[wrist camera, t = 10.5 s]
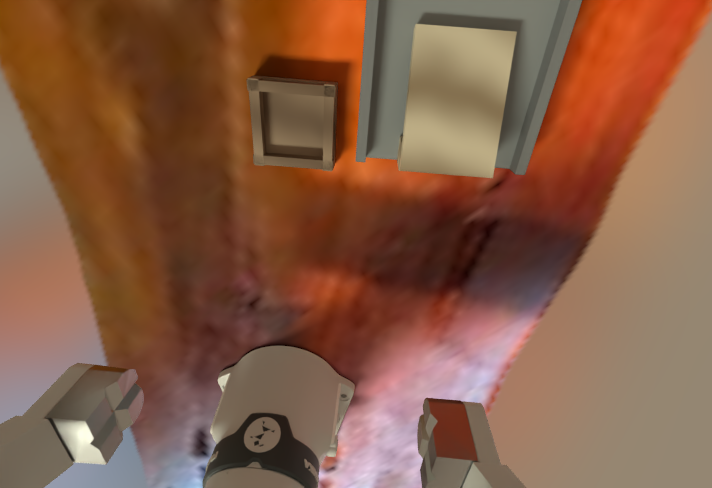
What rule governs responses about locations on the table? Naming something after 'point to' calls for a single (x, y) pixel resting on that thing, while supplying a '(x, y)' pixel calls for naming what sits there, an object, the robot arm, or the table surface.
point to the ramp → (455, 100)
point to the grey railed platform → (469, 10)
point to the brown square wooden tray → (293, 122)
